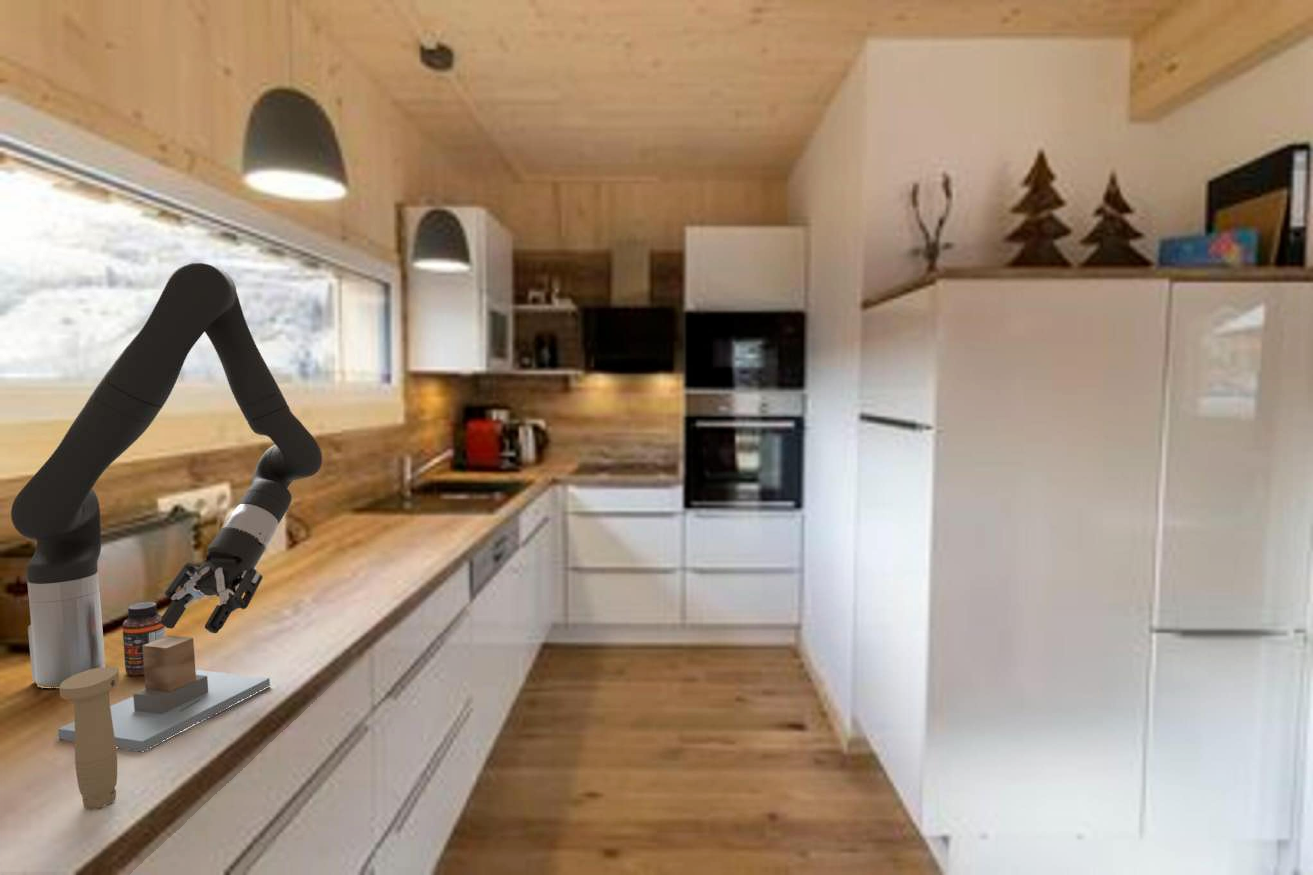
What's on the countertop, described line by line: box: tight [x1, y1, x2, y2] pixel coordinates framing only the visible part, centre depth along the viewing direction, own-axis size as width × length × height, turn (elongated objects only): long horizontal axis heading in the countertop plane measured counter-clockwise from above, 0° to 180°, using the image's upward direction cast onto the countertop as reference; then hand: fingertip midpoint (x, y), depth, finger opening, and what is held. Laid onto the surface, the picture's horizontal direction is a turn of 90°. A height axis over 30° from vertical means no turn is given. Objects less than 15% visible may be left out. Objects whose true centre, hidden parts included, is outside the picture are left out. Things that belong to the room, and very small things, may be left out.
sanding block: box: [132, 635, 208, 714], centre depth 115 cm, size 5×8×9 cm, turn 164°
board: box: [57, 669, 271, 752], centre depth 115 cm, size 15×22×2 cm
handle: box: [58, 666, 120, 811], centre depth 89 cm, size 5×6×15 cm
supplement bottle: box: [122, 601, 166, 677], centre depth 131 cm, size 6×6×11 cm
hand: (187, 628), depth 118 cm, fingers open, 8 cm apart
